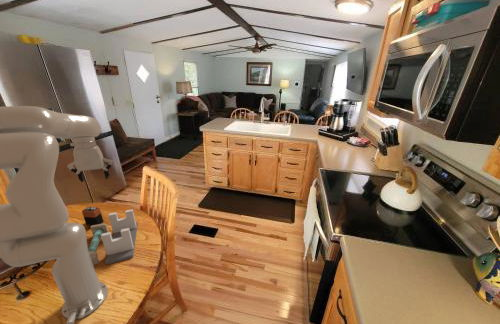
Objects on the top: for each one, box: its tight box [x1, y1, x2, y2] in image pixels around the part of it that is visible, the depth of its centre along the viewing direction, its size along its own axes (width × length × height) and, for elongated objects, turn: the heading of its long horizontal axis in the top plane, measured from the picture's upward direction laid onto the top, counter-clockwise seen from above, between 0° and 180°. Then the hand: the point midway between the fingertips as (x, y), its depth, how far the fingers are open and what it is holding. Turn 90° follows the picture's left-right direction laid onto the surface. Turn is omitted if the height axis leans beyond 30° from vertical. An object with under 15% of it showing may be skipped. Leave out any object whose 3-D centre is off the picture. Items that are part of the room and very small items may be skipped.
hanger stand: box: [100, 208, 138, 265], centre depth 95 cm, size 24×10×12 cm, turn 23°
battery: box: [81, 206, 104, 227], centre depth 107 cm, size 4×7×10 cm, turn 84°
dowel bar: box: [88, 222, 109, 266], centre depth 92 cm, size 20×6×6 cm, turn 23°
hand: (95, 179), depth 96 cm, fingers open, 9 cm apart
